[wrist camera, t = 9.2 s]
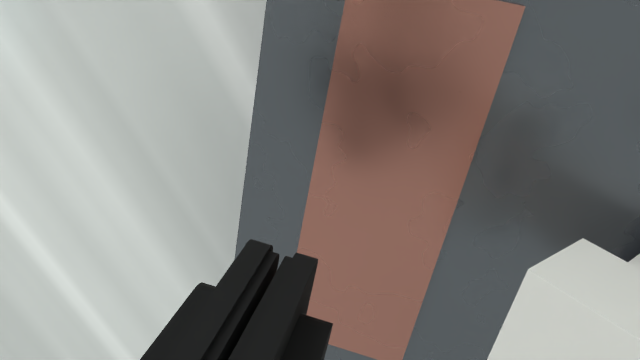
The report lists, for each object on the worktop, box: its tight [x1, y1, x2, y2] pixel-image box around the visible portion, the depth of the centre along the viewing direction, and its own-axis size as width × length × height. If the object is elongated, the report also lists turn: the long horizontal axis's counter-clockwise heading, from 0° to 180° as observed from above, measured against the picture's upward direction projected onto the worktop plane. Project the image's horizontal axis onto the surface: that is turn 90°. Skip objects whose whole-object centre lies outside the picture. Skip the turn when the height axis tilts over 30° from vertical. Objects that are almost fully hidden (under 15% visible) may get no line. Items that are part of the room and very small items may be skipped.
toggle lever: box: [487, 238, 640, 360], centre depth 13 cm, size 2×6×10 cm
